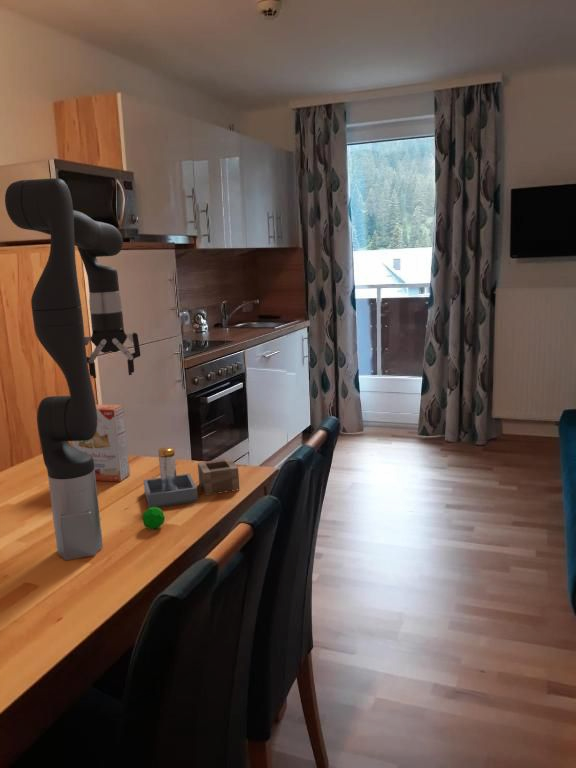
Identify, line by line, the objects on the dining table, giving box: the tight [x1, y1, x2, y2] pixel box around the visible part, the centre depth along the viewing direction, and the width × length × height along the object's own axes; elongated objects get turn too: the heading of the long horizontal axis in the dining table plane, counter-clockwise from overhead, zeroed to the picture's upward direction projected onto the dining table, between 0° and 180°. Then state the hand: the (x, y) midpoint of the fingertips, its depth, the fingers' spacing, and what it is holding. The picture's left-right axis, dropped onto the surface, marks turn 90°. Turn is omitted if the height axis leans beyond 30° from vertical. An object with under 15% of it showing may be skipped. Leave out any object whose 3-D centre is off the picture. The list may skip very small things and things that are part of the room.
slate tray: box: [143, 473, 199, 509], centre depth 164 cm, size 12×12×4 cm
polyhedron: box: [141, 507, 165, 531], centre depth 145 cm, size 5×5×5 cm
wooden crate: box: [197, 457, 240, 496], centre depth 169 cm, size 9×9×6 cm
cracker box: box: [71, 403, 131, 483], centre depth 179 cm, size 14×6×21 cm, turn 76°
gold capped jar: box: [157, 446, 178, 492], centre depth 163 cm, size 4×4×12 cm
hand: (112, 376), depth 160 cm, fingers open, 8 cm apart
